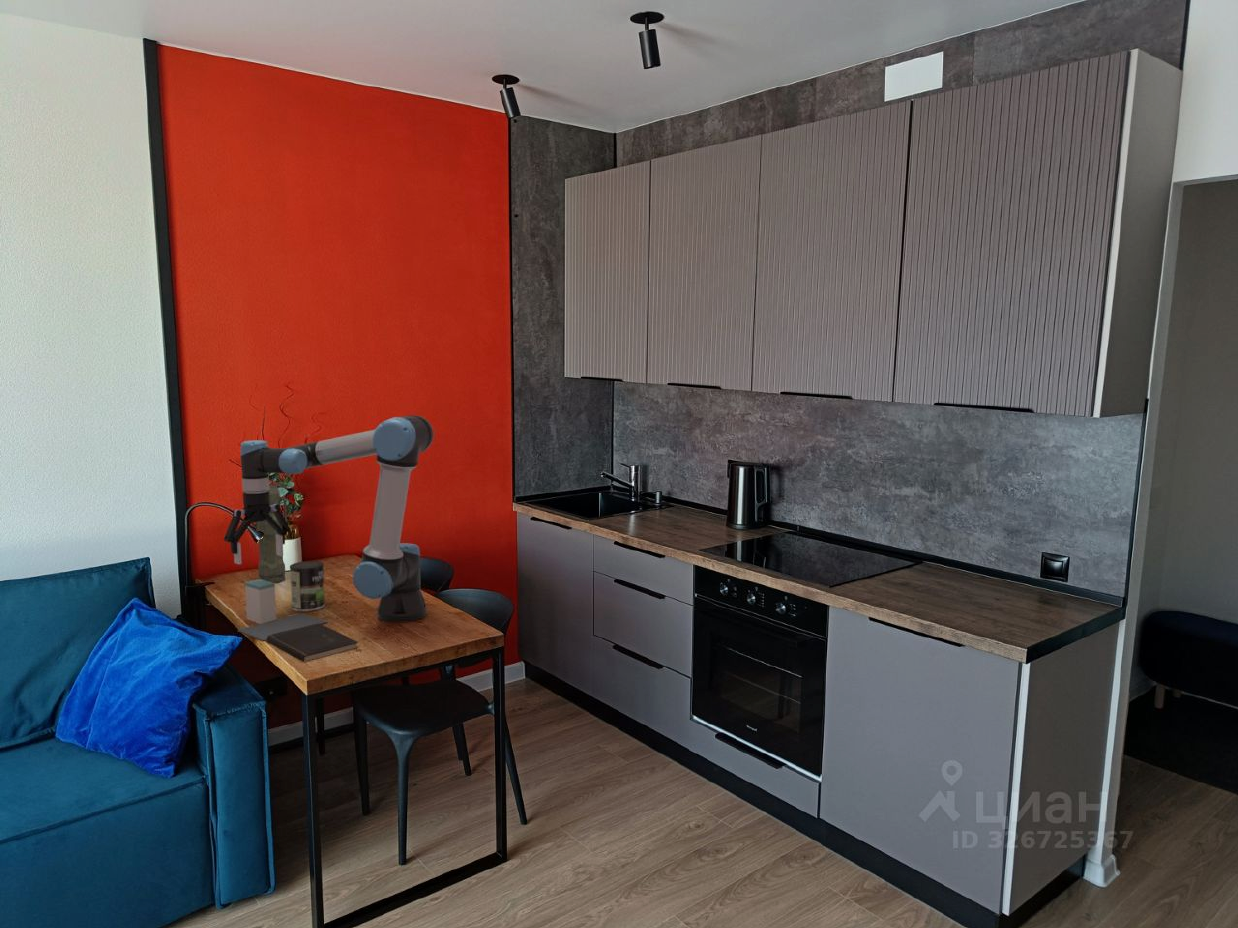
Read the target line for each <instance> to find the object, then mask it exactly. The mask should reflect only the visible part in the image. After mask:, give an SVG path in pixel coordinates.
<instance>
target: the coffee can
mask: <svg viewBox="0 0 1238 928" xmlns="http://www.w3.org/2000/svg"><path fill="white" fill-rule="evenodd" d="M324 565H325V564H324V562H322V561H317V560H316V561H315V560H308V561H307V560H306V561H299V562H298V561H297V562H294V563H291V564H290V565H289V569H290V585H291V586H290V588H291V589H290V590H291V591H290V592H291V609H292V610H293V611H296V612H311V611H312V612H313V611H317V610H321V609H323V608H324V607H325V606H326V599H325V597H326V595H325V576H324V575H325V574H324Z"/></svg>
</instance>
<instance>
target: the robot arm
mask: <svg viewBox="0 0 1238 928" xmlns="http://www.w3.org/2000/svg"><path fill="white" fill-rule="evenodd" d="M434 435H435V433H434V428H433V425H432V424H431V423H430V421H429V420H427V418H425V417H423V416H420V415H417V414H411V415H405V416H395V417H392V418H391V417H390V418H389V419H386V420H384V421H383V422H381V423H380V424H379V425H377V427H375V429H372V430H367V431H363V432H358V433H352V434H348V435H344V436H337V437H333V438H330V439H323V440H319V441H314V442H308V443H304V444H300V445H294V446H288V447H284V448H283V447H282V448H281V447H278V448H276V447H275V448H274V447H273V448H272V447H269V445H268V442H267V441H266V440H261V439H260V440H259V439H258V440H257V439H256V440H254V439H253V440H246V441H242V442H241V444H240V456H239V457H240V465H241V486H242V487H241V489H242V491H243V493H242V504H243V509H236V508H235V509H233V511H232V519H231V521H230V523H229V526H228V528H227V531H226V533H225V535H224V538H223V541H224V542H227V543H230V552H231V554H232V555H233V556H234V557H233V558H234V560H233V562H234V564H235V565H236V564H237V565H242V548H241V547H242V545H241V542H239V541H240V539H241V538H242V537H243V535H244V534H245V532H246V531H247V529H248V528H249V526H250V525H252V522H255V523H256V522H258V521H264V520H265V521H266V522H267V523H268V524H269V525H270V526H271V527H272V528H273V529H274V530H275V531H276V532H277V533H278V534H276V555H279V556H283V557H284V545H285V544H286V535H287V534H288V533H289V532H291V527H290V525H289V524H288V521H287V522H286V520H285V518H284V514H283V513H282V511H281V504H280V505H278V504H272V505H271V506H270V505H269V503H270V494H269V492H268V491H267V490H269V484H270V477H269V474H270V473H271V474H285V475H286V474H287V475H295V474H297V475H298V474H302V473H303V472H304V471H305V470H306V469H309V468H310V469H311V468H315V467H316V468H317V467H320V466H325V465H329V464H335V463H339V462H343V461H350V460H355V459H358V458H359V459H360V458H364V457H371V456H374V455H376V462H377V464H378V465H379V466H380V470H379V478H378V485H377V492H376V497H375V503H374V505H375V506H374V513H373V518H372V525H371V532H370V539H369V544H368V545H366V546H365V547H364V548H363V550H362V555H361V556H362V557H361V562H360V563H359V564H358V565H357V566H356V567H355V569H354V571H353V574H352V581H353V585H354V587H355V589H356V590H357V591H358V593H359V594H361V596H364V597H366V598H368V599H370V600H371V599H372V600H377V599H380V600H379V604H378V608H377V613H376V614H377V618H378V620H380V621H383V622H387V623H407V622H408V623H409V622H414V621H418V620H421V619H423V618H425V617H426V616H427V613H428V612H427V611H428V609H427V604H426V601H425V599H424V595H423V593H422V590H421V554H420V553H421V552H420V547H419V545H417V544H415V543H407V542H406V543H405V542H401V537H402V532H403V524H404V517H405V511H406V505H407V501H408V500H407V499H408V491H409V486H410V479H411V473H412V470H414V469H416V467H418V461H419V456H420V454H421V453H423V452H425V451H427V450H428V449H429V448H430V446H431V445H432V444H433V440H434ZM271 510H272V511H273V513H274V515H275V516H276V518H277V520H278V522H279V524H280V525H281V527H282V528H281V527H280V526H279V525H278V524H277V523H276V522H275V521H274V520H273V518H272V517H271V516H270V515H269V512H270V511H271ZM243 516H244V517H243ZM242 517H243V518H242ZM241 519H242V520H241ZM240 522H241V523H240Z"/></svg>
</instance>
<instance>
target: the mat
mask: <svg viewBox="0 0 1238 928" xmlns="http://www.w3.org/2000/svg"><path fill="white" fill-rule="evenodd" d="M318 623H320V624H322V625H325V624H328V621H326V620H322V618H321V619H320V618H318V617H315V616H311V615H310V614H309V615H308V614H306V613H302V612H300V613H295V614H292V615H288V616H285V617H282V618H276V620H273V621H269V622H266V623H262V624H255V625H252V626H248V627H244V628H240V629H237V632H239V633H241V634H244V635H246V636H248V637H251V638H254V639H256V640H259V641H262V642H267V637H268V636H269V635H272V634H276V633H280V632H284V631H289V630H293V629H297V628H301V627H305V626H310V625H314V624H318Z"/></svg>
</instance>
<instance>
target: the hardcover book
mask: <svg viewBox="0 0 1238 928" xmlns="http://www.w3.org/2000/svg"><path fill="white" fill-rule="evenodd" d="M266 642H268V643H269V644H271V645H272V646H274V647H277V648H278V649H280V650H282V651H283V652H285V653H287V654H289V655H291V656H292V657H294V658H296V659H297V658H298V659H297V660H299V659H300V660H299V661H301V660H302V661H301V662H302V663H305V662H308V660H309V661H312V659H313V660H316V659H319V658H323V657H327V656H331V655H334V654H338V653H341V652H346V651H350V650H354V649H357V644H358V643H359V641H358V640H355V639H353V638H351V637H349V636H346V635H344V634H342V633H341V632H338V631H336V630H334V629H332V628H330V627H328V626H326V625H325V624H320V623H318V624H314V625H310V626H305V627H301V628H297V629H293V630H289V631H284V632H280V633H276V634H272V635H269V636H268V637H267V641H266ZM304 661H305V662H304Z"/></svg>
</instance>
